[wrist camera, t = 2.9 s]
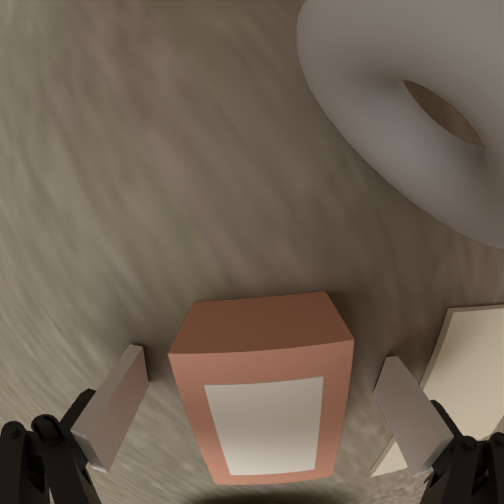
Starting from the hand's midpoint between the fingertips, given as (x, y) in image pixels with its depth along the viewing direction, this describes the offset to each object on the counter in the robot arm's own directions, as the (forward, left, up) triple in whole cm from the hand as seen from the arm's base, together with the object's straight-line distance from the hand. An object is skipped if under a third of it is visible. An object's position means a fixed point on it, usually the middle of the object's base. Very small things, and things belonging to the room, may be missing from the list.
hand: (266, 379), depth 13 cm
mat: (+4, +18, 0) cm, 18 cm away
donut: (-12, +4, 0) cm, 13 cm away
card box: (0, 0, 0) cm, 0 cm away
